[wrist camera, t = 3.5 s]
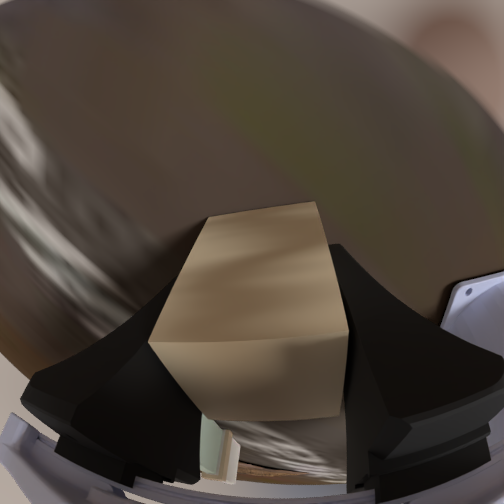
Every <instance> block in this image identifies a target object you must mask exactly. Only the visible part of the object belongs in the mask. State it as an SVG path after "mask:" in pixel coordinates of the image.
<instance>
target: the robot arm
mask: <svg viewBox="0 0 504 504" xmlns="http://www.w3.org/2000/svg"><path fill="white" fill-rule="evenodd" d="M328 247H329V251H330V254H331V258H332V262H333V266H334V269H335V273H336V277H337V281H338V285H339V289H340V294H341V298H342V302H343V306H344V311H345V315H346V320H347V324H348V329H349V335H348V348H347V359H346V369H345V378H344V386H343V390H344V401H345V416H346V436H347V494H342V495H334V496H324V497H314V498H313V497H312V498H294V499H292V498H291V499H269V498H248V497H236V496H226V495H218V494H210V493H204V492H198V491H192V490H187V489H183V488H178V487H174V486H169V485H165V484H163V481H166V482H170V483H174V481H176V482H181V483H185V484H191V485H192V484H195V483H197V482H198V481H199V480H200V438H201V422H202V412H201V411H200V410H199V409H198V407H197V406H196V405H195V404H194V403H193V401H192V400H191V399H190V398H189V397H188V395H187V394H186V393H185V392H184V390H183V389H182V388H181V387H180V385H179V384H178V383H177V381H176V380H175V379H174V378H173V376H172V375H171V374H170V372H169V371H168V370H167V368H166V367H165V366H164V364H163V363H162V361H161V360H160V359H159V357H158V356H157V354H156V353H155V352H154V350H153V349H152V347H151V346H150V344H149V343H148V340H149V338H150V336H151V334H152V331H153V329H154V327H155V325H156V322H157V320H158V318H159V316H160V314H161V312H162V309H163V307H164V305H165V303H166V301H167V299H168V297H169V295H170V292H171V290H172V288H173V286H174V284H175V282H176V280H177V278H178V276H179V274H180V273H179V274H178V275H177V276H176V277H175V278H174V279H173V280H172V281H171V282H170V283H169V284H168V285H167V286H166V287H165V288H163V289H162V290H161V291H160V292H159V293H158V294H157V295H156V296H155V297H154V298H153V299H152V300H151V301H149V302H148V303H147V304H146V305H145V306H144V307H143V308H142V309H140V310H139V311H138V312H137V313H136V314H135V315H134V316H132V317H131V318H130V319H129V320H127V321H126V322H125V323H123V324H122V325H121V326H119V327H118V328H117V329H116V330H114V331H113V332H111V333H110V334H108V335H107V336H105V337H104V338H102V339H101V340H99V341H98V342H96V343H95V344H93V345H91V346H90V347H88V348H87V349H85V350H83V351H81V352H79V353H78V354H76V355H74V356H72V357H70V358H68V359H66V360H64V361H62V362H60V363H57V364H55V365H53V366H50V367H48V368H46V369H43V370H41V371H38V372H36V373H35V374H34V375H33V376H32V378H31V380H30V381H29V383H28V385H27V387H26V389H25V391H24V393H23V395H22V396H21V398H20V400H21V403H22V405H23V406H24V407H25V408H26V409H27V410H28V411H30V413H32V414H33V415H34V416H35V417H36V418H38V419H39V420H40V421H42V422H43V423H44V424H46V425H47V426H48V427H50V428H51V429H53V430H54V431H55V432H56V433H58V434H59V435H60V437H59V440H58V442H55V441H54V440H52V439H50V438H48V437H47V436H45V435H43V434H42V433H40V432H39V431H38V430H36V429H35V428H34V427H33V426H31V425H30V424H29V423H27V422H26V421H25V420H23V419H22V418H20V417H19V416H17V415H16V414H14V413H11V414H10V416H9V418H8V420H7V422H6V425H5V427H4V429H3V431H2V434H1V436H0V463H1V464H2V465H3V466H4V467H5V468H6V470H7V471H8V472H9V473H10V474H11V476H12V477H13V478H14V480H15V481H16V483H17V484H18V486H19V487H20V489H21V490H22V491H23V493H24V494H25V496H26V497H27V498H28V499H29V501H30V502H31V504H144V503H141V502H137V501H134V500H131V499H128V498H127V497H126V496H125V493H124V492H123V490H124V491H127V492H130V493H132V494H135V495H138V496H141V497H144V498H147V499H151V500H154V501H157V502H160V503H164V504H401V503H403V504H504V271H503V272H500V273H496V274H492V275H488V276H484V277H480V278H476V279H472V280H468V281H464V282H460V283H458V284H457V285H456V286H455V287H454V288H453V290H452V293H451V296H450V299H449V303H448V306H447V309H446V312H445V314H444V317H443V320H442V323H441V325H440V327H439V326H437V325H436V324H434V323H432V322H431V321H429V320H427V319H426V318H424V317H423V316H421V315H419V314H418V313H417V312H415V311H414V310H412V309H411V308H409V307H408V306H407V305H405V304H404V303H403V302H401V301H400V300H398V299H397V298H396V297H394V296H393V295H392V294H391V293H390V292H389V291H387V290H386V289H385V288H384V287H383V286H382V285H380V284H379V283H378V282H377V281H376V280H375V279H374V278H373V277H372V276H371V275H370V274H369V273H368V272H367V271H366V270H365V269H364V268H363V267H362V266H361V265H360V264H359V263H358V262H357V261H356V260H355V259H354V258H353V257H352V256H351V255H350V254H349V253H348V252H347V251H346V249H345V248H344V247H343V246H342V245H341V244H332V245H328ZM121 489H122V490H121Z"/></svg>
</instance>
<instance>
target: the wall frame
mask: <svg viewBox="0 0 504 504" xmlns="http://www.w3.org/2000/svg"><path fill="white" fill-rule="evenodd" d="M222 430H223V433H222V439H221V445H220V451H219V457H218V463H217V469H216V474H212V473H205V472H203V471H202V476H201V477H202V478H205V479H209V480H217V481H221V482H223V483H226V484H235V483H236V475H237V468H238V460H239V452H240V445H239V444H238V443H237V442H236V441H235V439H234V438H233V437H232V436H233V433H232V432H231V431H230V430H226V429H222Z"/></svg>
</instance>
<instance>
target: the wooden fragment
mask: <svg viewBox="0 0 504 504" xmlns="http://www.w3.org/2000/svg"><path fill="white" fill-rule="evenodd" d="M237 473H240V474H250V475H256V476H270V477H274V476H283V475H300V474H308V473H304V472H292V471H284V470H272V469H266V468H262V467H258V466H253V465H251V464H250V465H249V464H245V463H241V462H239V461H238V468H237Z"/></svg>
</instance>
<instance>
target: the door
mask: <svg viewBox="0 0 504 504" xmlns="http://www.w3.org/2000/svg"><path fill="white" fill-rule="evenodd" d="M222 433H223V430H222V429H221V428H220V427H219V426H218V425H217V424H216V423H215V421H214V420H209V419H207V418H206V417H205V415H204V414H203V413H202V422H201V438H200V470H201V471H203V472H205V473H212V474H216V469H217V463H218V457H219V451H220V445H221V439H222Z"/></svg>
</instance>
